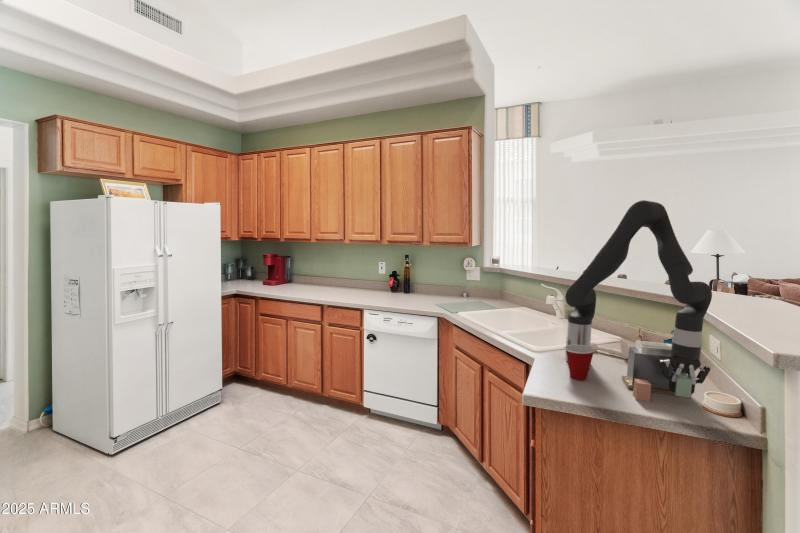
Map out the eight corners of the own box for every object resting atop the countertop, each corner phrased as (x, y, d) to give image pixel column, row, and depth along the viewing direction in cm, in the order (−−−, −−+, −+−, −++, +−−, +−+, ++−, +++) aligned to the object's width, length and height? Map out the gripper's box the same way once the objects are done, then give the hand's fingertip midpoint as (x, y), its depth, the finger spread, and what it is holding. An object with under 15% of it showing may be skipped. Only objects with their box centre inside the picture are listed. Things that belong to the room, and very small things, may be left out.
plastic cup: (565, 369, 152) (567, 341, 150) (595, 376, 145) (597, 346, 144) (559, 378, 143) (561, 348, 142) (590, 385, 137) (592, 354, 135)
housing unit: (627, 388, 134) (631, 346, 132) (621, 378, 143) (624, 338, 142) (691, 397, 128) (695, 352, 126) (680, 386, 137) (684, 344, 136)
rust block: (635, 400, 125) (637, 383, 125) (632, 395, 129) (634, 378, 129) (649, 402, 124) (651, 384, 124) (646, 397, 128) (647, 380, 127)
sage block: (675, 395, 122) (677, 377, 121) (671, 390, 125) (673, 373, 125) (690, 397, 120) (692, 379, 120) (685, 392, 124) (687, 375, 123)
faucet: (592, 359, 179) (587, 338, 180) (633, 356, 166) (626, 334, 167) (589, 361, 176) (583, 340, 177) (630, 358, 163) (623, 336, 165)
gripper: (664, 343, 120) (659, 393, 122) (718, 348, 115) (712, 401, 117) (657, 336, 127) (652, 384, 129) (708, 341, 122) (702, 391, 124)
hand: (681, 392), depth 123 cm, fingers closed on sage block, 4 cm apart
